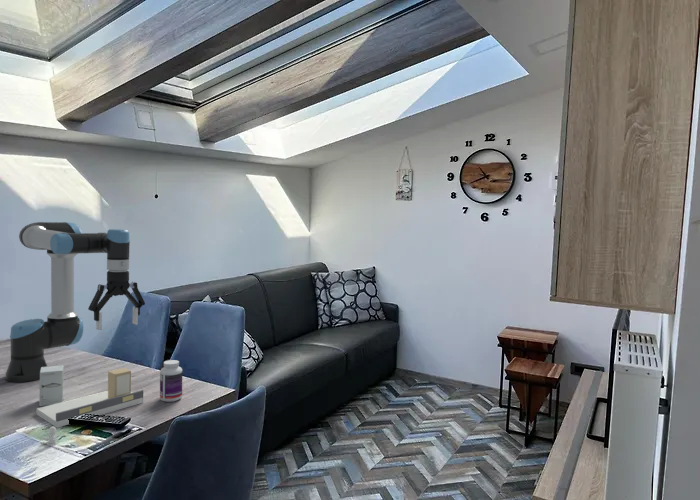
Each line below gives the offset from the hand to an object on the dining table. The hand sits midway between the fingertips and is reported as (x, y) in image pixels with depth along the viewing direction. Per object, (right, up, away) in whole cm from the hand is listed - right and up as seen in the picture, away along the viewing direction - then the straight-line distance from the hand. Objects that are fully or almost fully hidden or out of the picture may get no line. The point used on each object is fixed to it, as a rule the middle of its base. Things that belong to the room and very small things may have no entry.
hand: (117, 326), depth 187 cm
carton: (+2, -26, -3) cm, 26 cm away
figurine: (-3, -31, -37) cm, 48 cm away
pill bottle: (+19, -28, +3) cm, 34 cm away
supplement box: (-22, -27, -5) cm, 35 cm away
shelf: (-5, -28, -9) cm, 30 cm away
